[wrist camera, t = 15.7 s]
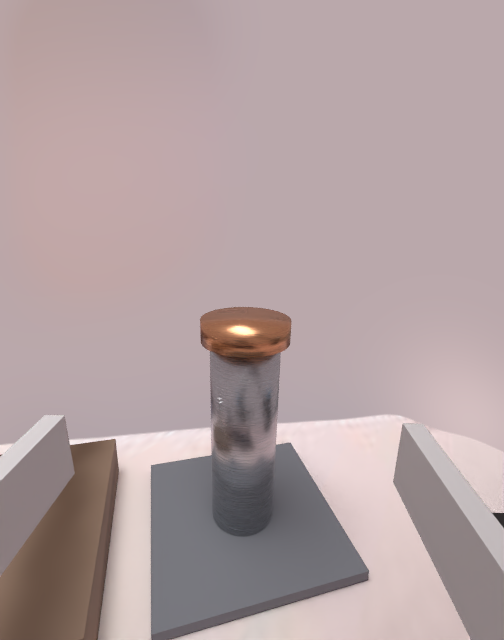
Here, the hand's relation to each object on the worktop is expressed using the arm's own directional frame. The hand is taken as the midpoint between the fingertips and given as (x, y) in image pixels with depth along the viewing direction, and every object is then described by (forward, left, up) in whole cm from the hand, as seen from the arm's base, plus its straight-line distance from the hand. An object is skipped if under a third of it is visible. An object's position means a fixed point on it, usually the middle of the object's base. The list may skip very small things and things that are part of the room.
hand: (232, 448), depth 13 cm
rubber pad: (-3, -10, -15) cm, 18 cm away
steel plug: (-3, -10, -14) cm, 17 cm away
